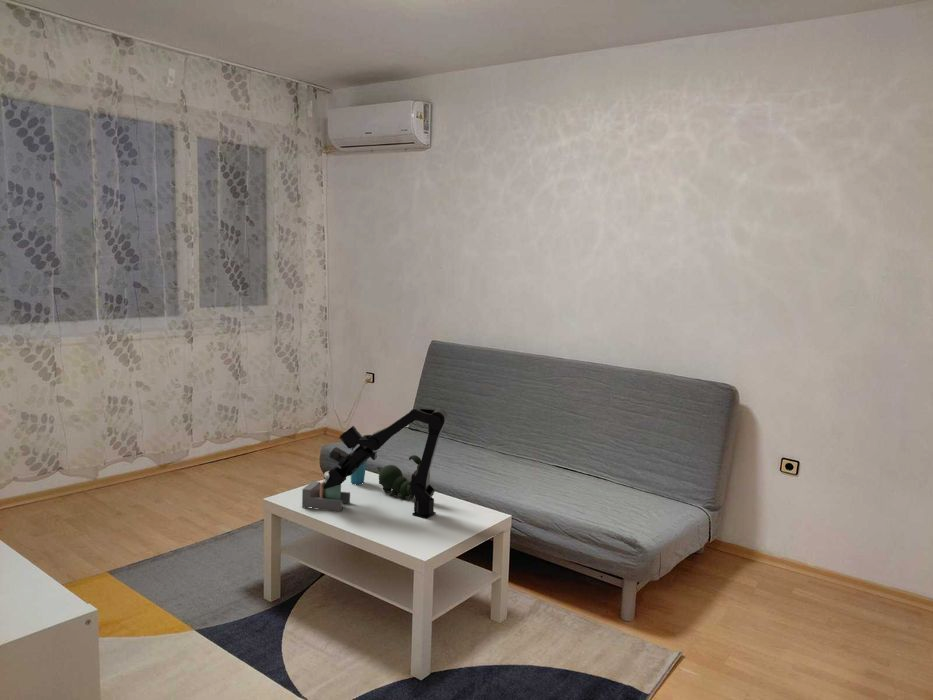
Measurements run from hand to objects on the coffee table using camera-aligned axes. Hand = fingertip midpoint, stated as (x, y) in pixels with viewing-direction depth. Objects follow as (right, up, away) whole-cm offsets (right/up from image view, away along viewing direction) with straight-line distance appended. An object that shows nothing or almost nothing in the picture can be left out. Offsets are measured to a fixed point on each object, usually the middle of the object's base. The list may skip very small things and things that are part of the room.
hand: (328, 484), depth 253 cm
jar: (+1, -8, +1) cm, 8 cm away
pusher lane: (-1, -8, +1) cm, 8 cm away
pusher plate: (-2, -8, +1) cm, 8 cm away
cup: (+5, -5, +30) cm, 31 cm away
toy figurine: (+25, -8, +16) cm, 31 cm away
